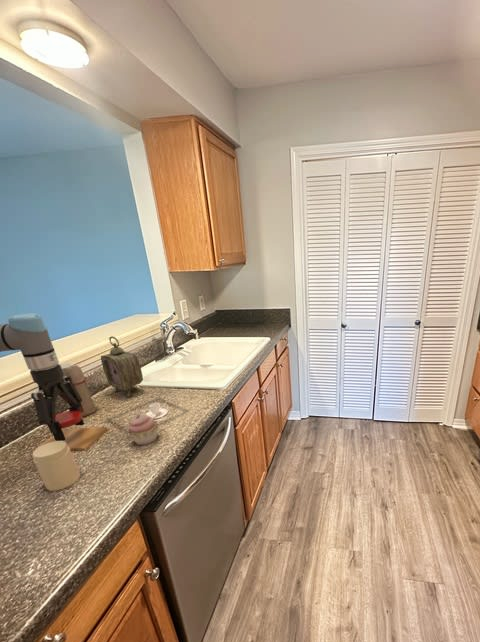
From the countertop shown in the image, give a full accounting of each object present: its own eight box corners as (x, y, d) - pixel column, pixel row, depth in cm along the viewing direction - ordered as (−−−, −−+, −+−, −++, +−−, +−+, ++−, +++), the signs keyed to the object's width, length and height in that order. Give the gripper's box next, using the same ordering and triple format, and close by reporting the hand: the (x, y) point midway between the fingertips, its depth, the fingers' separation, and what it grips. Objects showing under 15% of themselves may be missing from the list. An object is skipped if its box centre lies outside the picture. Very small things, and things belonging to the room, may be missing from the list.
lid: (63, 415, 108) (61, 410, 107) (88, 415, 107) (86, 410, 106) (43, 429, 100) (41, 424, 99) (70, 428, 99) (68, 423, 98)
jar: (38, 491, 84) (22, 458, 80) (59, 472, 91) (46, 440, 87) (67, 491, 84) (53, 457, 80) (86, 471, 91) (74, 439, 87)
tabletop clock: (110, 392, 141) (93, 337, 131) (130, 385, 148) (115, 331, 138) (127, 400, 133) (111, 341, 123) (148, 391, 140) (133, 335, 130)
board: (36, 452, 101) (34, 449, 101) (62, 431, 112) (61, 428, 112) (85, 450, 100) (84, 447, 100) (107, 430, 111) (106, 427, 111)
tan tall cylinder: (65, 417, 122) (46, 367, 114) (84, 407, 129) (67, 360, 121) (82, 420, 119) (64, 369, 111) (101, 409, 126) (85, 361, 118)
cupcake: (125, 441, 104) (117, 414, 100) (153, 429, 110) (146, 403, 106) (138, 452, 98) (129, 424, 94) (167, 438, 105) (160, 411, 101)
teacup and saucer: (150, 423, 114) (147, 413, 113) (138, 417, 119) (136, 407, 117) (172, 413, 121) (170, 403, 119) (160, 407, 125) (158, 398, 124)
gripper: (28, 380, 86) (58, 451, 95) (80, 354, 105) (101, 415, 115) (1, 381, 86) (34, 451, 95) (58, 355, 106) (80, 416, 115)
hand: (70, 432), depth 105 cm, fingers closed on lid, 8 cm apart
